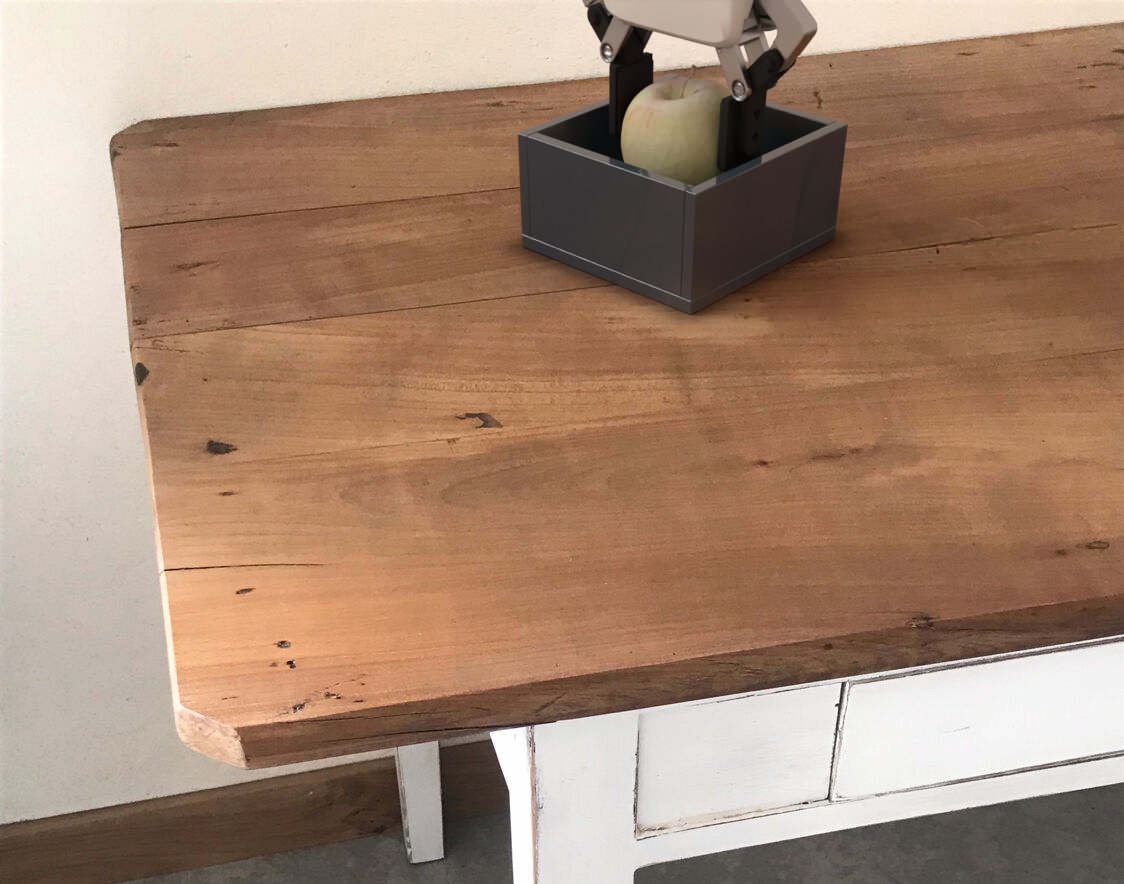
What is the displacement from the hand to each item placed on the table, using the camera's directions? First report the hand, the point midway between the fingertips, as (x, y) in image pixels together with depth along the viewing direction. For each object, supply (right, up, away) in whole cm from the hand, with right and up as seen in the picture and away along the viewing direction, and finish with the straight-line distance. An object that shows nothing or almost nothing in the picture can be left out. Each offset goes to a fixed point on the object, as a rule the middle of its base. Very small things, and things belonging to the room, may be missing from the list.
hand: (683, 145), depth 81 cm
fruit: (0, -3, +2) cm, 4 cm away
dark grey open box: (0, -4, +4) cm, 6 cm away
